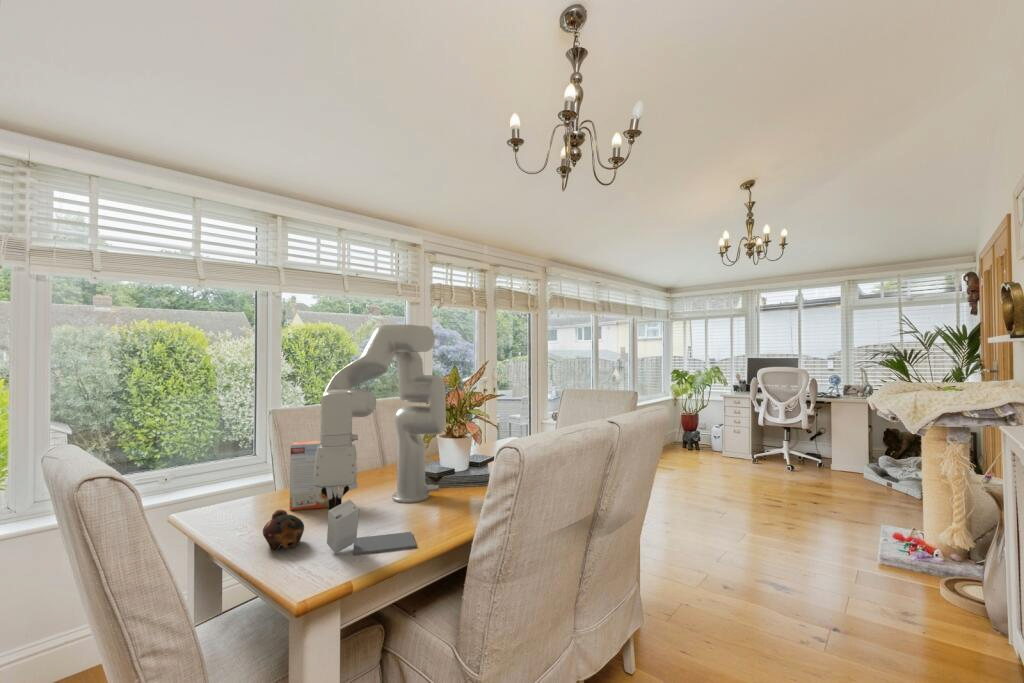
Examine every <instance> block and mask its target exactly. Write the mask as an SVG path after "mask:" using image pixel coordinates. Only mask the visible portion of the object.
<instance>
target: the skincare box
mask: <svg viewBox="0 0 1024 683" xmlns="http://www.w3.org/2000/svg"><path fill="white" fill-rule="evenodd" d="M327 512H328V515H327V534H326V544H327V546H328V547H329V548H330V549H331V551H332V552H333V553H334V554H335V555H337V554H338V553H340V552H342V551H343V550H344V549H346V548H348V547H349V546H351V545H354V543H355V542H356V539H357V538H358V527H359V515H360V508H359V507H358V506H357V505H356V504H355V503H354V502H353V501H352V500H351V499H349V498H348V500H345V501H343V502H342V503H341V504H340V505H338V506H336V507H334V508H332V509H330V510H329V509H328V511H327Z"/></svg>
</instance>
